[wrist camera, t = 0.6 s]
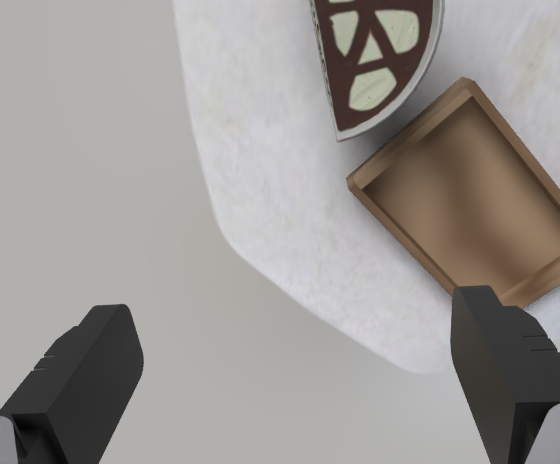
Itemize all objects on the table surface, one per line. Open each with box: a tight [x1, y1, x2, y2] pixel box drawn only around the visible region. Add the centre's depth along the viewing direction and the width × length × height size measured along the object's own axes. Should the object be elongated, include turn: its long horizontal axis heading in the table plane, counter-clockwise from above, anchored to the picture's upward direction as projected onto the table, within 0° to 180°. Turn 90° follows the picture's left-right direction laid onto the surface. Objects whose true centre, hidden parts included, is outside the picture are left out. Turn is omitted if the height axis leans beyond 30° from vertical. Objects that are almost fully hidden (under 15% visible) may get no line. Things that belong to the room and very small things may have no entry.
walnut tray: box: [346, 77, 560, 309], centre depth 33 cm, size 10×16×2 cm, turn 45°
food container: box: [309, 0, 445, 142], centre depth 25 cm, size 12×6×10 cm, turn 13°
